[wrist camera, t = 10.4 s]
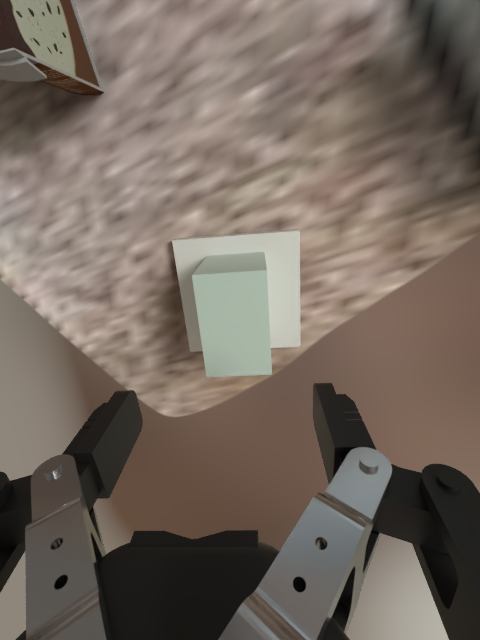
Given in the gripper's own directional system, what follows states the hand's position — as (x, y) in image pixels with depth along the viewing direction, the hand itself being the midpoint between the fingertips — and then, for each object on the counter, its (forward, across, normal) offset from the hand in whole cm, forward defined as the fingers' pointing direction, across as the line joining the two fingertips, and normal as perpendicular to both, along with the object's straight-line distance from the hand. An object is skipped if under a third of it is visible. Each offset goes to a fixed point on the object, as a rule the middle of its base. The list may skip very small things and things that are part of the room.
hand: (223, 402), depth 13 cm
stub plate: (+17, 0, 0) cm, 17 cm away
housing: (+15, 0, 0) cm, 16 cm away
